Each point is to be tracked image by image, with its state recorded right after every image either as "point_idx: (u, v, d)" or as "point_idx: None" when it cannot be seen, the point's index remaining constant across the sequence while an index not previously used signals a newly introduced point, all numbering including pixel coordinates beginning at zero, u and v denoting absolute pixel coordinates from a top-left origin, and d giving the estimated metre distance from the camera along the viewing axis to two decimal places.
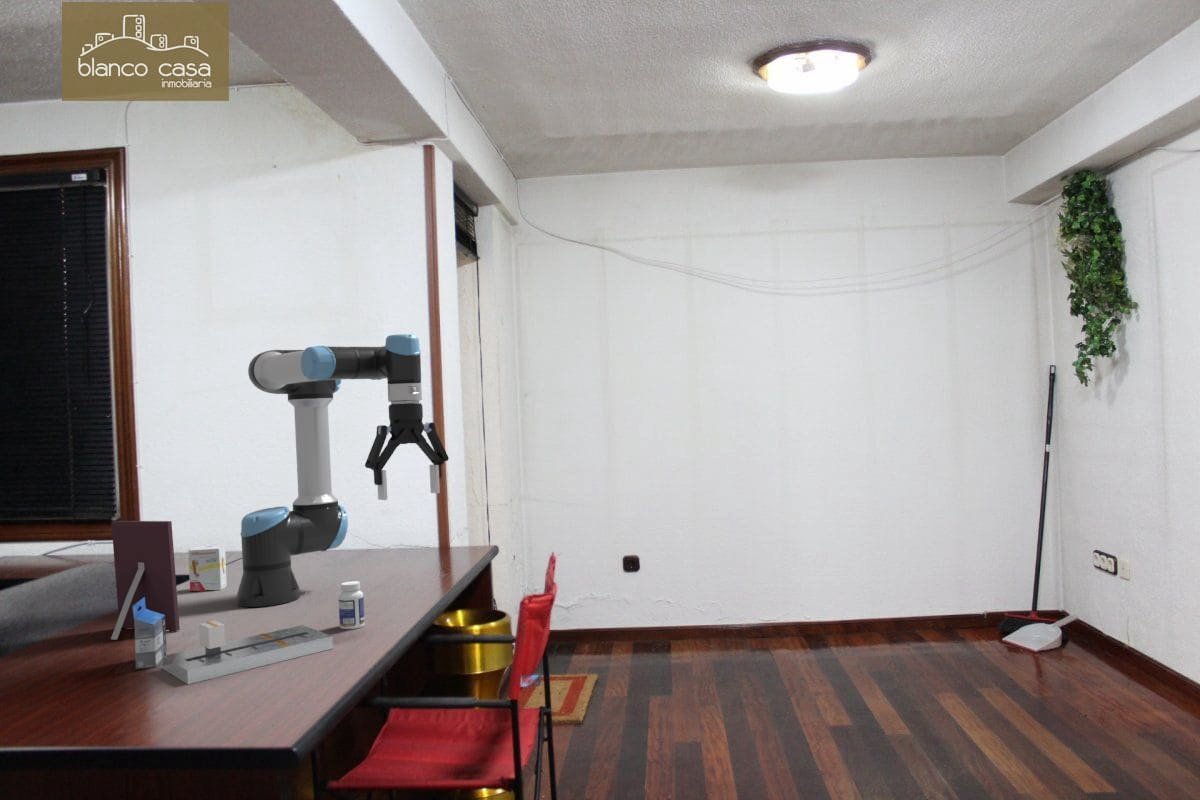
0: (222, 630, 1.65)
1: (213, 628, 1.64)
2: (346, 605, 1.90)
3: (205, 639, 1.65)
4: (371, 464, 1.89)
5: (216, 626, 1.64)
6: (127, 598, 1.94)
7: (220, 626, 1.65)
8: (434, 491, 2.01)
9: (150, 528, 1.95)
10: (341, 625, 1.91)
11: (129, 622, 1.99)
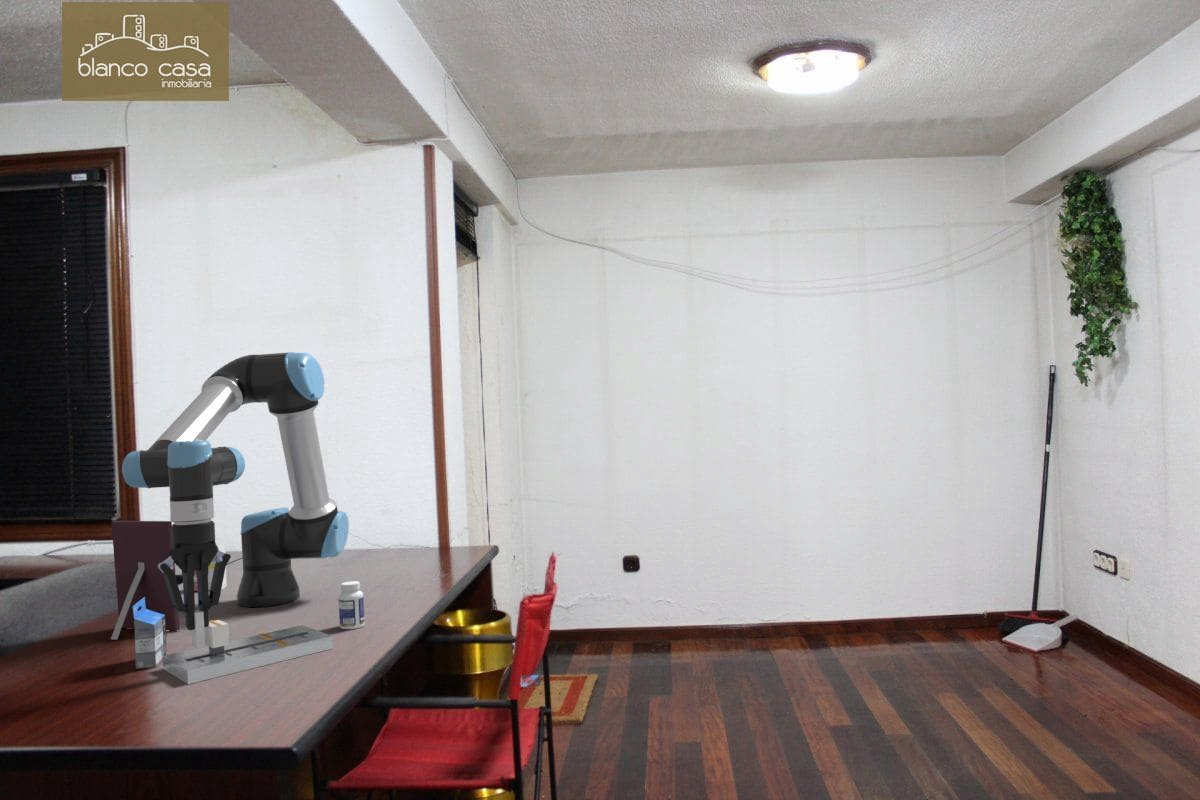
0: (226, 629, 1.66)
1: (217, 627, 1.64)
2: (346, 605, 1.90)
3: (208, 639, 1.65)
4: (179, 609, 1.61)
5: (220, 625, 1.65)
6: (127, 598, 1.94)
7: (224, 625, 1.65)
8: None
9: (150, 528, 1.95)
10: (341, 625, 1.91)
11: (129, 622, 1.99)
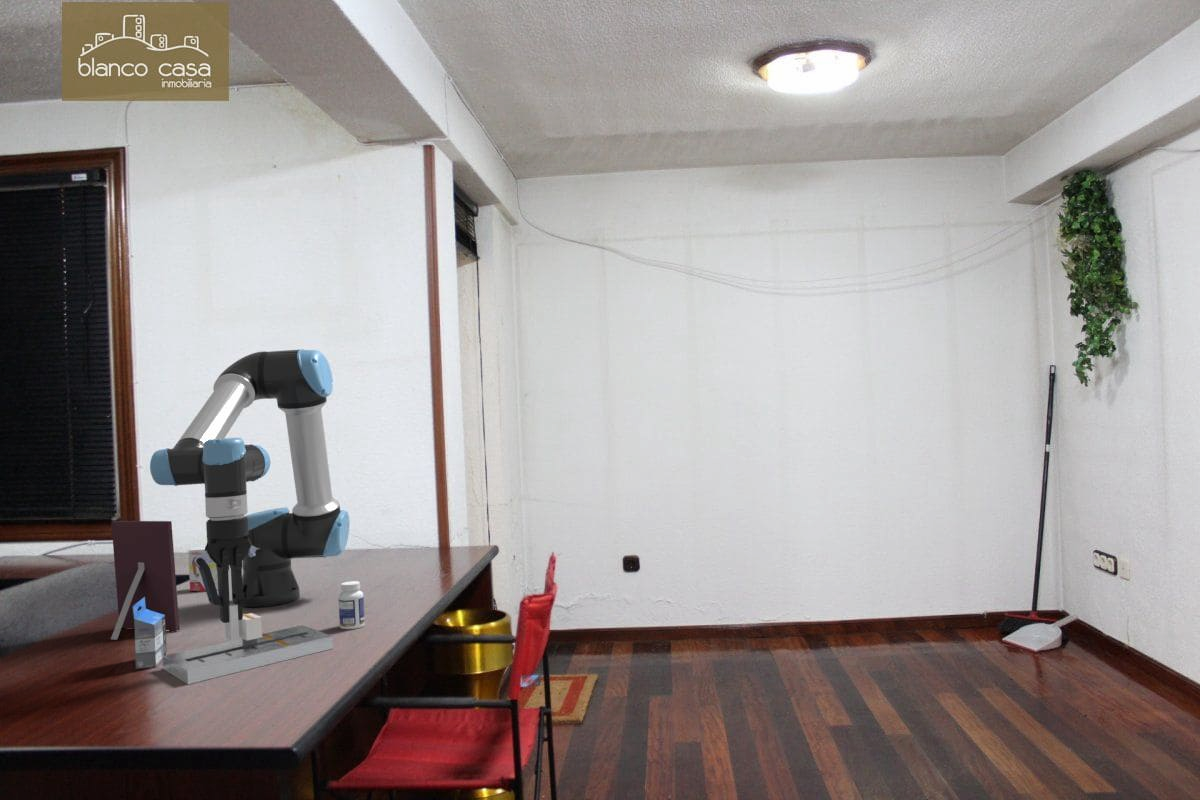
0: (259, 622, 1.70)
1: (250, 620, 1.69)
2: (346, 605, 1.90)
3: (242, 631, 1.70)
4: (214, 602, 1.66)
5: (253, 618, 1.69)
6: (127, 598, 1.94)
7: (257, 618, 1.70)
8: None
9: (150, 528, 1.95)
10: (341, 625, 1.91)
11: (129, 622, 1.99)
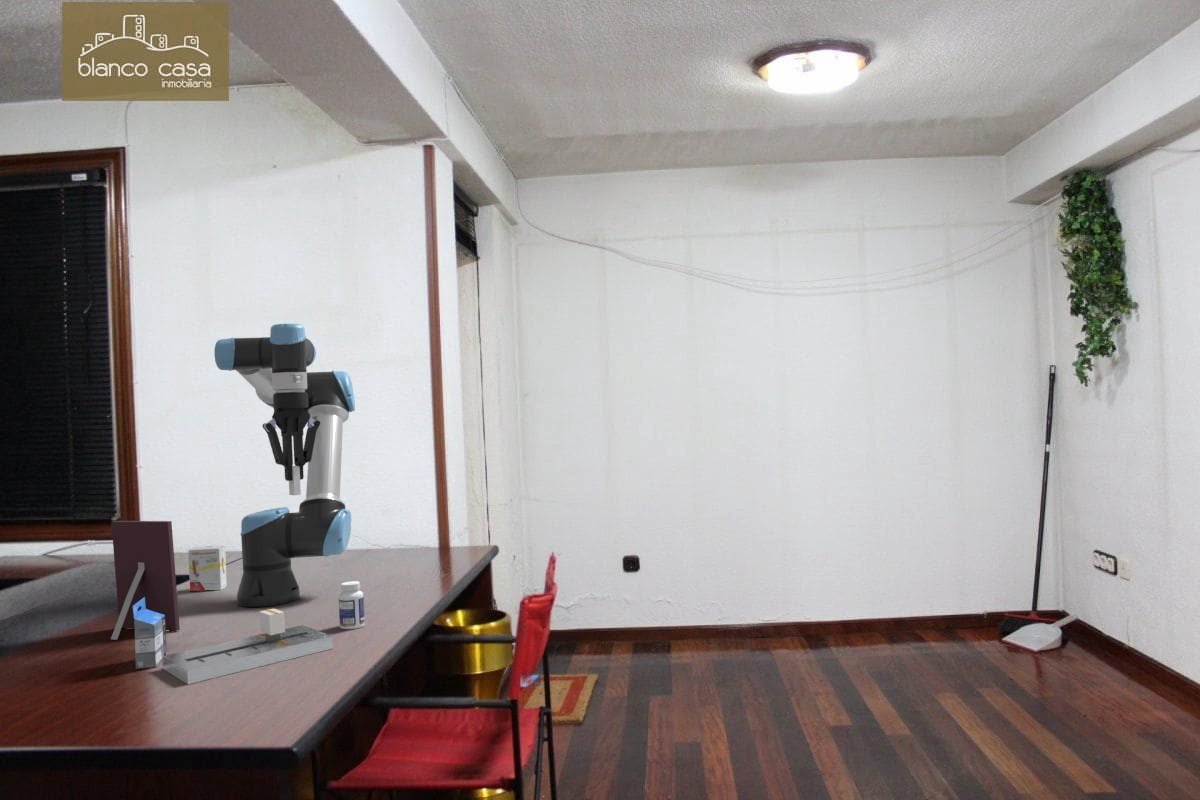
0: (282, 617, 1.73)
1: (274, 615, 1.72)
2: (346, 605, 1.90)
3: (266, 626, 1.73)
4: (280, 461, 1.94)
5: (276, 613, 1.72)
6: (127, 598, 1.94)
7: (280, 613, 1.73)
8: None
9: (150, 528, 1.95)
10: (341, 625, 1.91)
11: (129, 622, 1.99)
